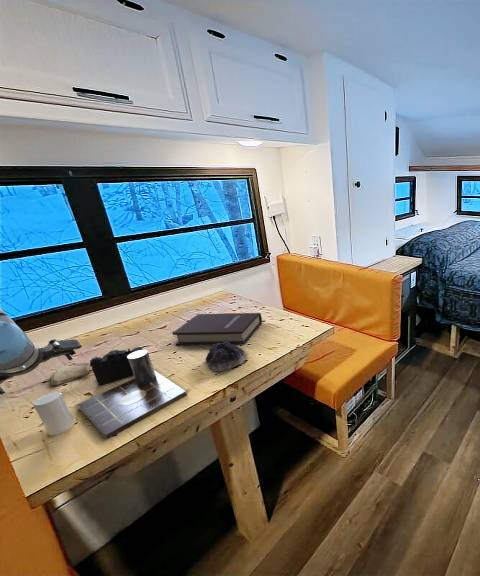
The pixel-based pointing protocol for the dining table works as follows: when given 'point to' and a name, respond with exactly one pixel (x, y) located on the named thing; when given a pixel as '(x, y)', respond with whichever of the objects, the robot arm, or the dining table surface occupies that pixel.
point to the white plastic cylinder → (54, 413)
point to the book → (218, 329)
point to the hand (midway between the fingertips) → (35, 371)
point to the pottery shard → (69, 373)
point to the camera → (112, 366)
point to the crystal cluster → (224, 356)
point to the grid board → (129, 404)
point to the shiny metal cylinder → (141, 367)
